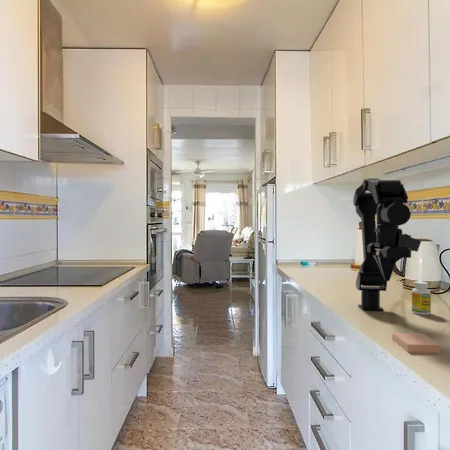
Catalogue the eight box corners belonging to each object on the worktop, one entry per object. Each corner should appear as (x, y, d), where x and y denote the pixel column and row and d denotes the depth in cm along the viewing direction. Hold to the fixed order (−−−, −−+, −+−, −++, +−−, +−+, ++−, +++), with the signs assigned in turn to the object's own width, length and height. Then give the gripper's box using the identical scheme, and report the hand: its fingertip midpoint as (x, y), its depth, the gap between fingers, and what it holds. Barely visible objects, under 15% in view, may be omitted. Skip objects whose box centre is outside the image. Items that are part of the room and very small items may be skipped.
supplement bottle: (420, 310, 127) (420, 280, 127) (434, 314, 123) (434, 283, 122) (407, 312, 125) (407, 281, 125) (422, 315, 120) (422, 284, 120)
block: (392, 332, 96) (407, 344, 87) (421, 333, 95) (440, 345, 86) (392, 341, 96) (407, 354, 87) (421, 342, 95) (440, 354, 86)
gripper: (432, 225, 101) (431, 286, 101) (404, 224, 119) (404, 276, 120) (387, 225, 102) (387, 286, 102) (366, 224, 120) (366, 276, 120)
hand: (387, 280), depth 111 cm, fingers closed
